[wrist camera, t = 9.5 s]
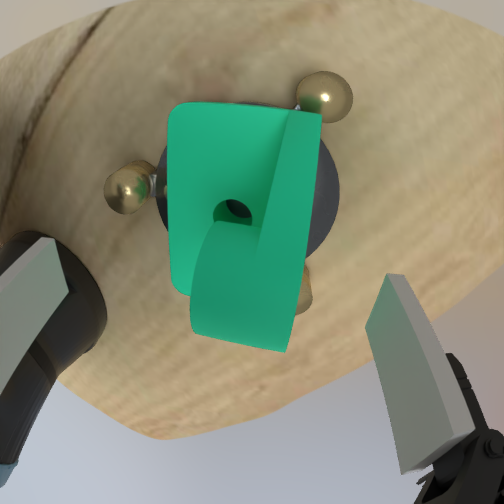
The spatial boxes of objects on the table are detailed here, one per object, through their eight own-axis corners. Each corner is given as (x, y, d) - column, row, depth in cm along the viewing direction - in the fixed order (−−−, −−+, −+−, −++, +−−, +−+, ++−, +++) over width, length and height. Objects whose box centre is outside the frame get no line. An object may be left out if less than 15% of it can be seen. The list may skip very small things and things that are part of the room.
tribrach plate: (133, 271, 25) (119, 292, 23) (122, 69, 17) (100, 68, 14) (311, 293, 25) (314, 317, 22) (351, 80, 16) (364, 79, 14)
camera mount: (188, 100, 16) (60, 123, 7) (320, 113, 15) (331, 136, 6) (186, 270, 22) (116, 378, 13) (289, 291, 21) (266, 421, 12)
